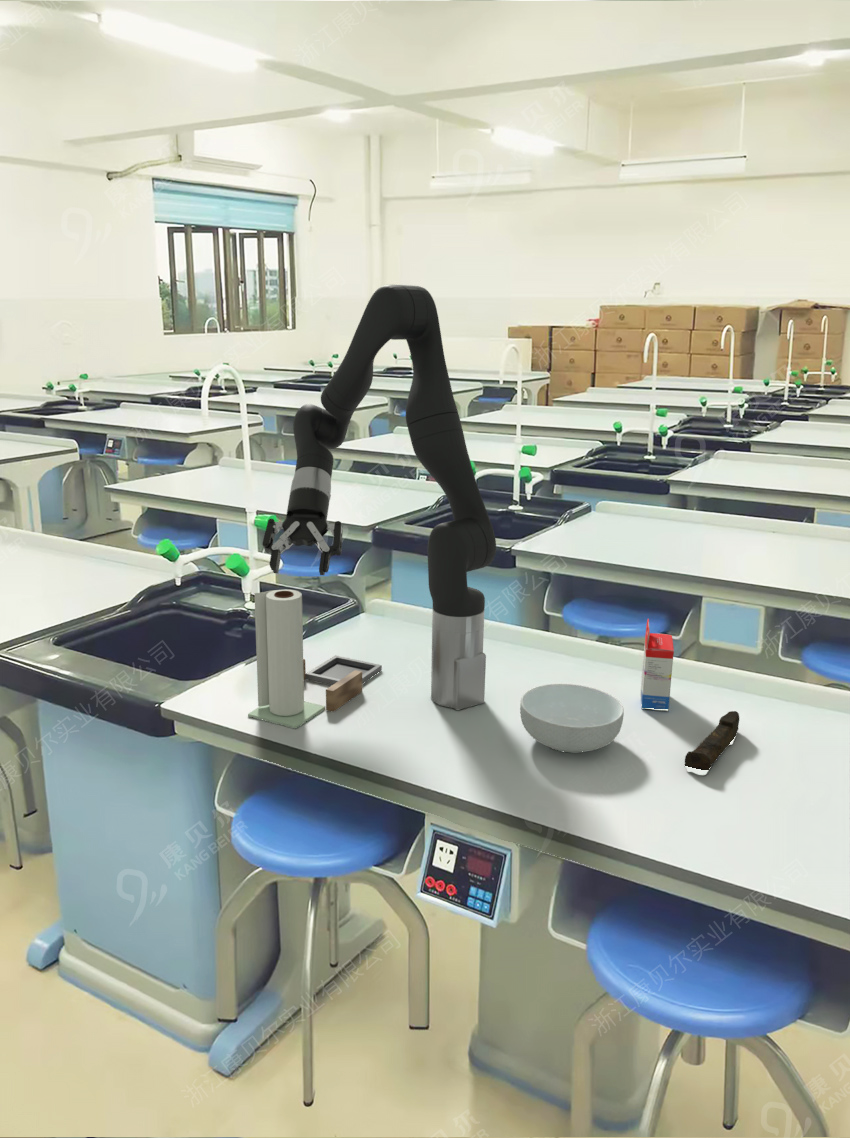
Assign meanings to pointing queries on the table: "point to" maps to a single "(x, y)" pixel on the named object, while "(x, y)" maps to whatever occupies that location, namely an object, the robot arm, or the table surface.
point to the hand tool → (714, 743)
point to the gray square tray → (341, 670)
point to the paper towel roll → (280, 651)
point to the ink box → (656, 670)
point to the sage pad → (289, 721)
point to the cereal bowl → (571, 717)
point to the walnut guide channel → (342, 689)
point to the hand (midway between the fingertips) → (298, 572)
